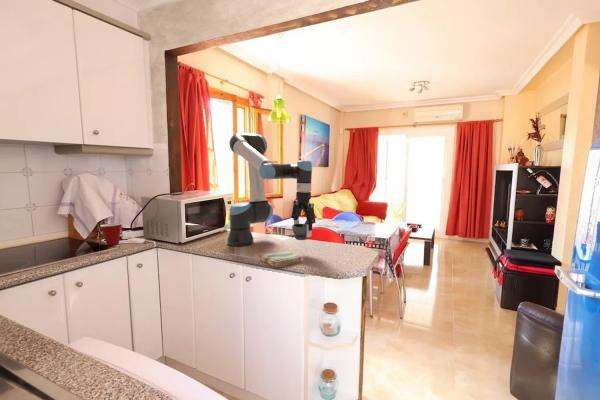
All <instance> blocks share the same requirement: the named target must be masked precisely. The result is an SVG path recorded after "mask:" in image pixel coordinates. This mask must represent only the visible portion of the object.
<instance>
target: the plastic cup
mask: <svg viewBox="0 0 600 400" xmlns="http://www.w3.org/2000/svg"><path fill="white" fill-rule="evenodd" d="M99 226H100V228H101V230H102V233H103V236H104V240H105V243H106V246H109V247H110V246H117V245H119V243H120V239H121V233H122V226H123V222H114V223H113V222H112V223H106V224H101V225H99Z"/></svg>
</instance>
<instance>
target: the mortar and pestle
mask: <svg viewBox="0 0 600 400" xmlns="http://www.w3.org/2000/svg"><path fill="white" fill-rule="evenodd" d="M307 223H308V222H307V219H306V220H305V221H304V223H299V224H294V223H293V224H292V233H293V234H294V235H295V240H297V241H306V240H308V237H306V232H307Z"/></svg>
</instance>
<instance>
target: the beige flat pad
mask: <svg viewBox="0 0 600 400" xmlns="http://www.w3.org/2000/svg"><path fill="white" fill-rule="evenodd" d="M259 257H260V261H262V262H264V263H266V264H268V265H270V266H272V267H274V268H275V269H277V268H281V267H285V266H290V265H293V264H298V263H302V256H300V255H298V254H296V253H294V252H290V251H288V250H286V249H282V250H278V251H271V252H267V253H263V254H260V256H259Z"/></svg>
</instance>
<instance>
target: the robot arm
mask: <svg viewBox="0 0 600 400" xmlns="http://www.w3.org/2000/svg"><path fill="white" fill-rule="evenodd" d="M228 144H229V148H230V150H231V151H232V153H234V154H235V155H237V156H240V157H241V158H243V159H244V160H245V161H246V162H247V164H248V165H247V166H248V167H247V168H248V177H249V188H250V199H249V201H248V202H247V201H246V202H236V203H233V204H231V205H230V207H229V212H228V213H229V233H228V236H227V243H226V244H227V245H228V246H231V247H244V246H245V247H246V246H250V245H253V244H254V236H253V232H252V230H251V225H252V224H253V225H254V224H260V223H267V222H269V221H270V220H271V219H272V217H273V214H274V208H273V205H272V204H271V203H270V202H269V199H267V198H266V190H265V180H277V179H279V180H280V179H281V180H282V179H286V180H287V179H295V180H296V192H295V193H296V195H295V198H296V200H293V207H292V210H291V211H292V212H291V217H290V218H291V219H292V220H293V225H294V224H300V215H301V213H302V211H303V212H304V215H305V218H306V220H307V222H308V223H307V232H306V237H307V238H310V237H312V236H313V235H312V231H313V224H316V217H315V216H316V215H315V210H314V209H315V208H314V206H315V204H314V203H311V201H310V200H311V199H312V180H313V179H312V176H313V175H312V174H313V163H312V161H310V160H297V161H296V164H294V163H293V164H292V163H274V162H272V161H271V160H270V159H268V158H267V157H266V156H265V153H266V152H267V150H268V142H267V139H266V138H265V137H264V136H263V135H262V134H257V133H246V132H238V133H235V134H233V135H232V136H231V137H230V140H229V143H228Z"/></svg>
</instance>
